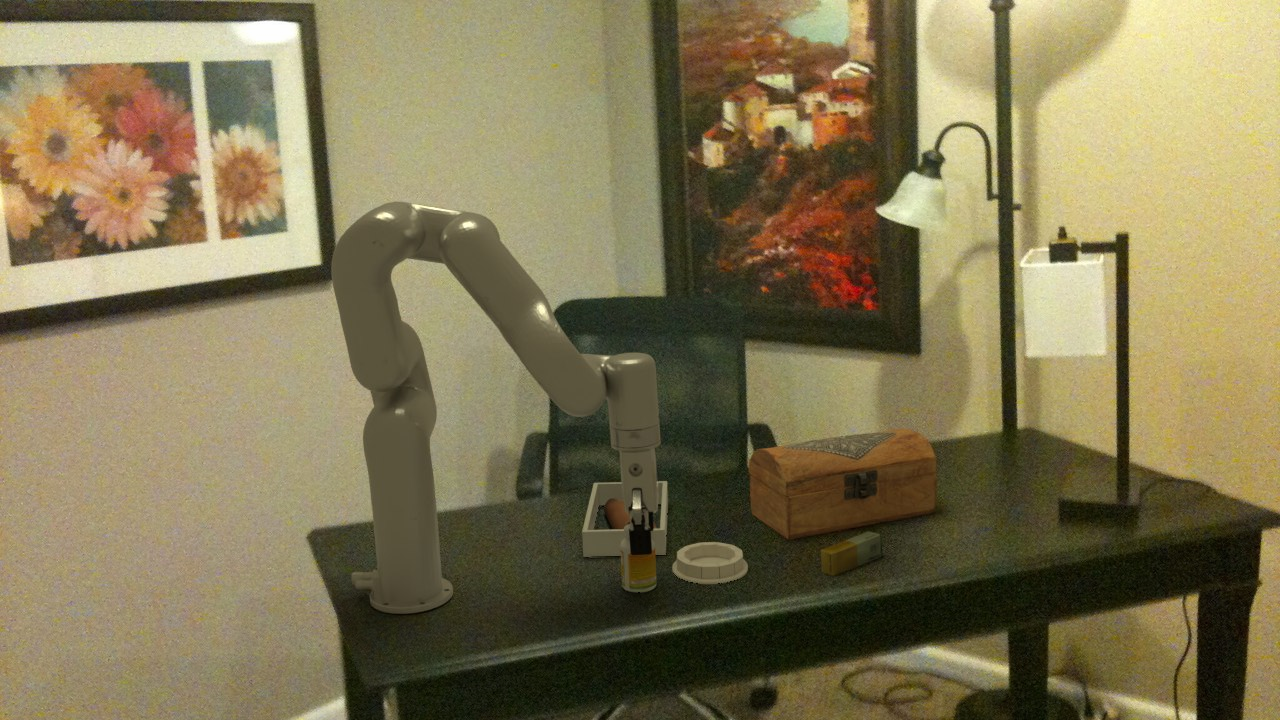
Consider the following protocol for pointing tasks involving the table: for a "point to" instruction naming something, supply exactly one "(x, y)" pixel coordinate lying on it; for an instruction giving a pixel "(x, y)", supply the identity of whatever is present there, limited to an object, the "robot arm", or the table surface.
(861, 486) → the wooden box
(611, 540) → the frame
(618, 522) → the sunglasses case
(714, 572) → the coaster tray
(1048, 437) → the table surface
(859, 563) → the medication box
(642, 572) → the supplement bottle
